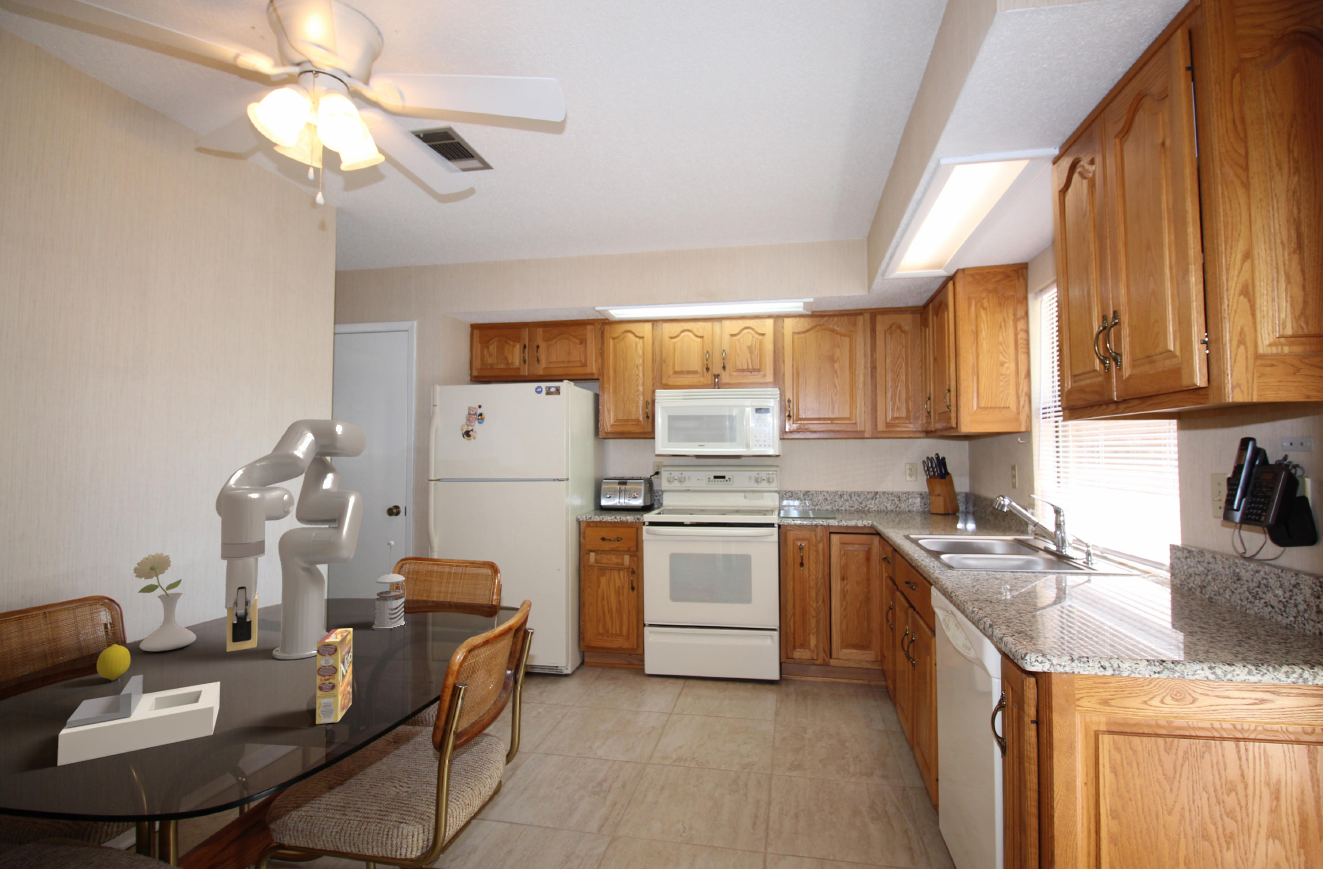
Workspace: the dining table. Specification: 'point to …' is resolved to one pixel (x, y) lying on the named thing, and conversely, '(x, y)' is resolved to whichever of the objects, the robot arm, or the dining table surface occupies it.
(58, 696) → the dining table surface
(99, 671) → the lemon
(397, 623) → the french press
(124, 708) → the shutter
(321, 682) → the candy box
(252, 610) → the plug
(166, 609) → the flower in vase
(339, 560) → the robot arm
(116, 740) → the socket
